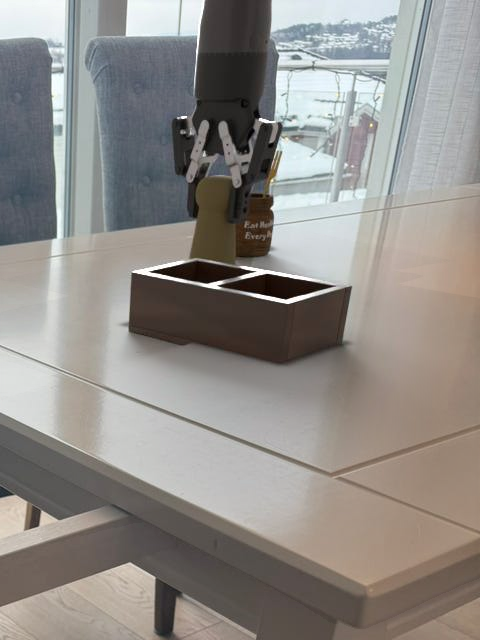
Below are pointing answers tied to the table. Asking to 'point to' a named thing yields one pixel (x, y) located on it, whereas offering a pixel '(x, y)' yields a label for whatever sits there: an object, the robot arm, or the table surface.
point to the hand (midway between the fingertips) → (215, 219)
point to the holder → (238, 309)
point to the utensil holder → (257, 221)
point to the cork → (214, 221)
